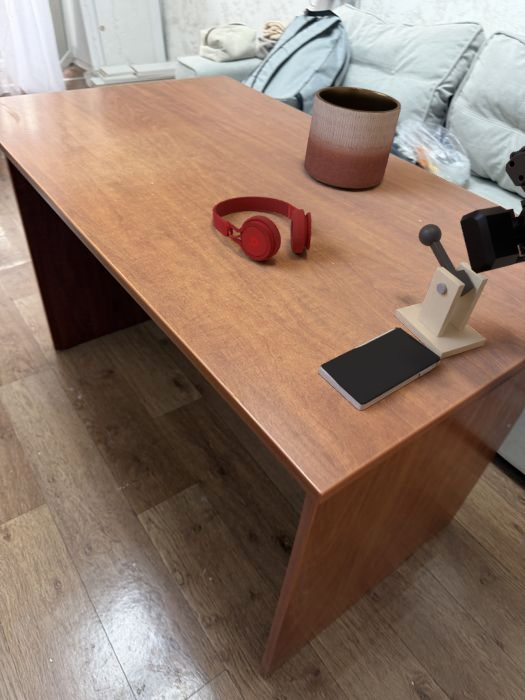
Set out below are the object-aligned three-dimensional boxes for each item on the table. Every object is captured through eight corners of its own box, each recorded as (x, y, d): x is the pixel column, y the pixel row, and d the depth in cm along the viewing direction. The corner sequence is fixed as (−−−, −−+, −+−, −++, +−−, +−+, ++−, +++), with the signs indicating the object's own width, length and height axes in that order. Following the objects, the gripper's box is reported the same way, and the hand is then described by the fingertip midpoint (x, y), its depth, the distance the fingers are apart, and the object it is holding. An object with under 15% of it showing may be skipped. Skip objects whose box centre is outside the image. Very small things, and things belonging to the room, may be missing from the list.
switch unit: (394, 315, 72) (414, 258, 65) (435, 304, 75) (458, 248, 68) (439, 359, 65) (466, 301, 59) (482, 345, 68) (513, 288, 62)
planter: (368, 200, 100) (388, 119, 90) (290, 177, 105) (300, 98, 95) (391, 172, 112) (412, 98, 102) (321, 153, 117) (333, 80, 107)
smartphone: (317, 365, 61) (397, 325, 68) (316, 372, 62) (395, 331, 69) (363, 406, 56) (443, 359, 64) (360, 413, 57) (440, 365, 64)
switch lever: (410, 234, 68) (422, 221, 66) (427, 231, 69) (439, 218, 67) (447, 301, 65) (461, 289, 62) (463, 296, 66) (478, 285, 63)
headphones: (327, 255, 82) (270, 216, 96) (331, 213, 77) (271, 180, 92) (248, 272, 76) (200, 228, 90) (248, 228, 72) (198, 189, 86)
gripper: (645, 118, 49) (514, 178, 64) (515, 130, 42) (402, 195, 57) (669, 225, 50) (533, 261, 64) (544, 254, 43) (424, 288, 57)
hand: (476, 249), depth 61 cm, fingers closed
